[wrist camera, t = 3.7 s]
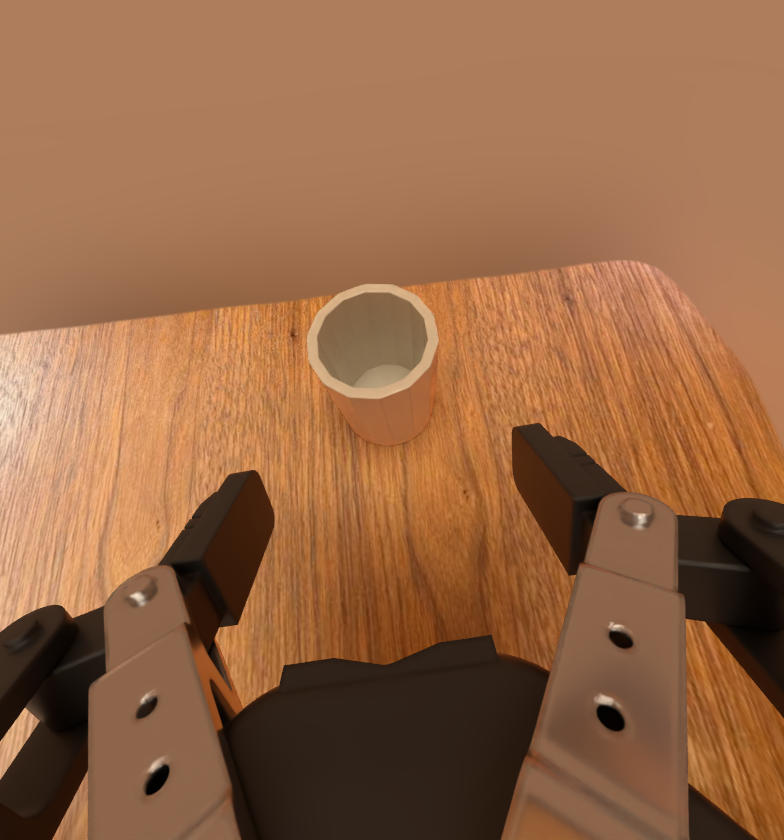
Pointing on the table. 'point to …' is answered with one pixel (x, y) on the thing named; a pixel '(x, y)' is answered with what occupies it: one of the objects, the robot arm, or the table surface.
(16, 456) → the table surface
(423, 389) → the cup
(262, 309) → the table surface
